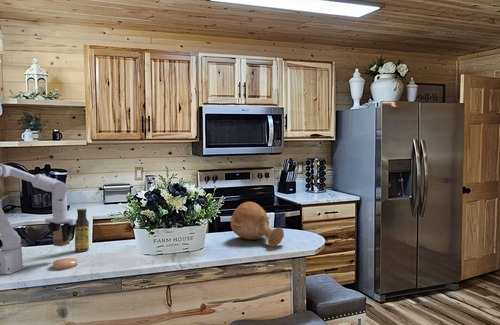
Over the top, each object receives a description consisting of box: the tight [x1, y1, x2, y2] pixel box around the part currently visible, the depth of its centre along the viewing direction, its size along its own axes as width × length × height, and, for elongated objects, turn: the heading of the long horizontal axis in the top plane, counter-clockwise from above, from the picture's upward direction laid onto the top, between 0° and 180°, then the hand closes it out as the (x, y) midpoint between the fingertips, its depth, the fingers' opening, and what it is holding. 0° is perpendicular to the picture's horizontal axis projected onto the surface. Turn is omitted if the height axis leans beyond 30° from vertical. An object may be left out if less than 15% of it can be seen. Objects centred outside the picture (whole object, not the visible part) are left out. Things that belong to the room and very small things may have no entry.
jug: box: [230, 201, 285, 247], centre depth 198 cm, size 20×19×30 cm
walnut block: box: [52, 229, 71, 247], centre depth 171 cm, size 4×4×6 cm
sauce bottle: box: [74, 207, 90, 253], centre depth 186 cm, size 6×6×20 cm
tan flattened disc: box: [52, 257, 78, 271], centre depth 164 cm, size 9×9×2 cm
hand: (61, 240), depth 171 cm, fingers closed on walnut block, 4 cm apart
